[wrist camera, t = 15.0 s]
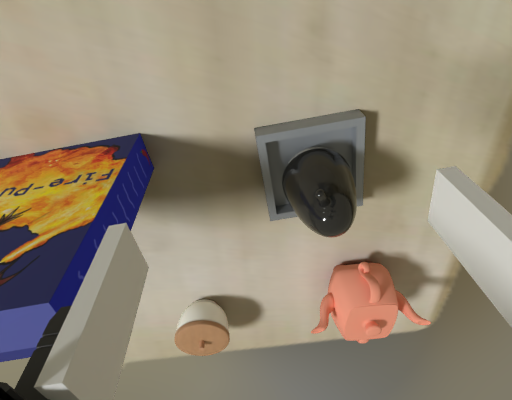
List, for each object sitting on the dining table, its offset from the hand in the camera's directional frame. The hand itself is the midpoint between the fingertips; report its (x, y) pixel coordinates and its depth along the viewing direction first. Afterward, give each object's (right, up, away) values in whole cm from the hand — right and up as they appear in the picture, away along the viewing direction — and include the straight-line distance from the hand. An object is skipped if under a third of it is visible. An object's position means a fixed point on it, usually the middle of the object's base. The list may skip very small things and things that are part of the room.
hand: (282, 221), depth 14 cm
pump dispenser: (+7, +6, +38) cm, 39 cm away
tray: (+7, +7, +38) cm, 40 cm away
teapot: (+19, -15, +55) cm, 60 cm away
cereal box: (-28, +6, +36) cm, 46 cm away
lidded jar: (-12, -22, +57) cm, 63 cm away
